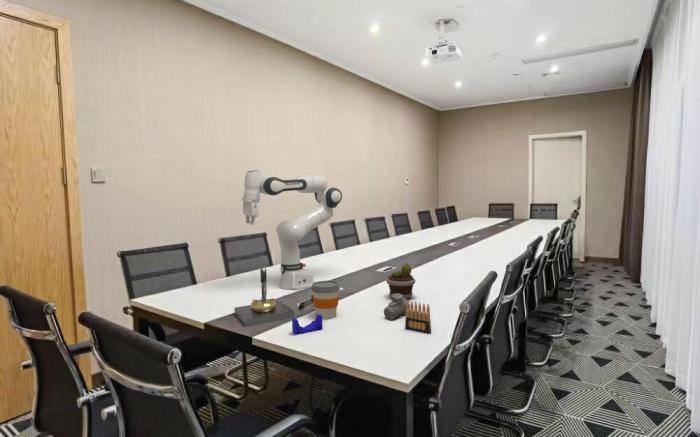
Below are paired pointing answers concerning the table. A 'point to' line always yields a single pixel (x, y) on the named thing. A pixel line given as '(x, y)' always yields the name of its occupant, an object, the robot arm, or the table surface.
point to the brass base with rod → (263, 297)
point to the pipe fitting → (396, 307)
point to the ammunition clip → (418, 318)
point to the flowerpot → (401, 282)
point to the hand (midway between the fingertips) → (249, 223)
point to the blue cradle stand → (307, 326)
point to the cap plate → (263, 314)
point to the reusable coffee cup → (325, 298)
